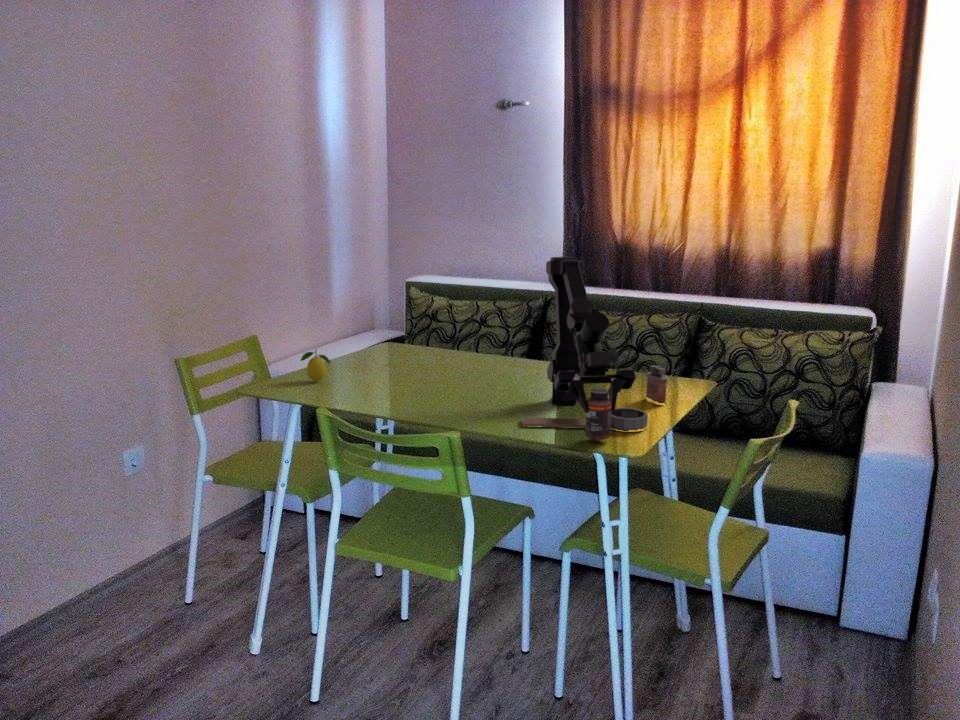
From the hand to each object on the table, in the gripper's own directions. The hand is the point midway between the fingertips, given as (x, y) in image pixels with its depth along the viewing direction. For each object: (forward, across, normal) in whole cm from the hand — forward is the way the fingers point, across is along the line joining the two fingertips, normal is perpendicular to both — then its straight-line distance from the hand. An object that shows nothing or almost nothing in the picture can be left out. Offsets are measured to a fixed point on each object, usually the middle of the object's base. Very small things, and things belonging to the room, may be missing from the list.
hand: (600, 411), depth 215 cm
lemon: (-38, -66, +51) cm, 92 cm away
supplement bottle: (+4, 0, +6) cm, 7 cm away
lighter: (-16, +25, +28) cm, 41 cm away
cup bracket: (-4, 0, +15) cm, 16 cm away
